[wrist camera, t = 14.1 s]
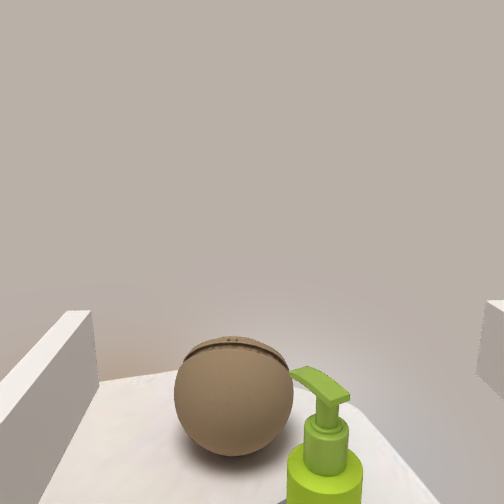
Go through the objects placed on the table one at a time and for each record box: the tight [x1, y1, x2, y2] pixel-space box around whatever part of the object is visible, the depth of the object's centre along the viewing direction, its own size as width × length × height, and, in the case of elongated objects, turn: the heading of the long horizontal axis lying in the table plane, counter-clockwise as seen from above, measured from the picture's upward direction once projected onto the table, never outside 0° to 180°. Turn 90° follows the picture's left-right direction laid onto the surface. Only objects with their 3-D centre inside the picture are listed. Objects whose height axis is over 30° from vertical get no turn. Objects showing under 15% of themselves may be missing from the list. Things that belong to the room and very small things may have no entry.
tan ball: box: [174, 336, 293, 456], centre depth 55 cm, size 15×15×15 cm
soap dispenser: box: [286, 366, 363, 504], centre depth 36 cm, size 6×7×20 cm
